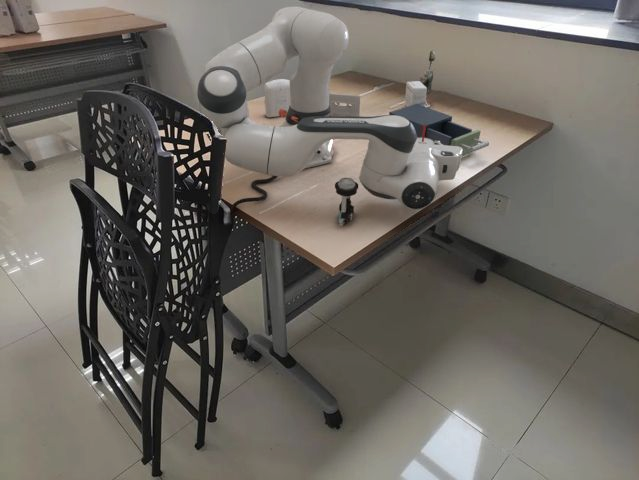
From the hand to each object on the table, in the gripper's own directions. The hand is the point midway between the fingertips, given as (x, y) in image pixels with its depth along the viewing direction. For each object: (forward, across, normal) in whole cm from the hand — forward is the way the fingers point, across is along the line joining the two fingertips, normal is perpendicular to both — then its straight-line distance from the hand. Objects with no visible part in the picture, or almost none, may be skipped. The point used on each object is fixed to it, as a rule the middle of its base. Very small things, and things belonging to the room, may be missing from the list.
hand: (422, 142), depth 122 cm
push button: (-29, -16, -9) cm, 35 cm away
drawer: (+13, +9, -8) cm, 18 cm away
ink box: (+40, -4, -9) cm, 41 cm away
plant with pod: (+55, -1, -9) cm, 56 cm away
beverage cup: (-1, 0, -9) cm, 9 cm away
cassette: (+37, -28, -9) cm, 47 cm away
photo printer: (+34, -51, -9) cm, 61 cm away
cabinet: (+22, -1, -9) cm, 24 cm away
